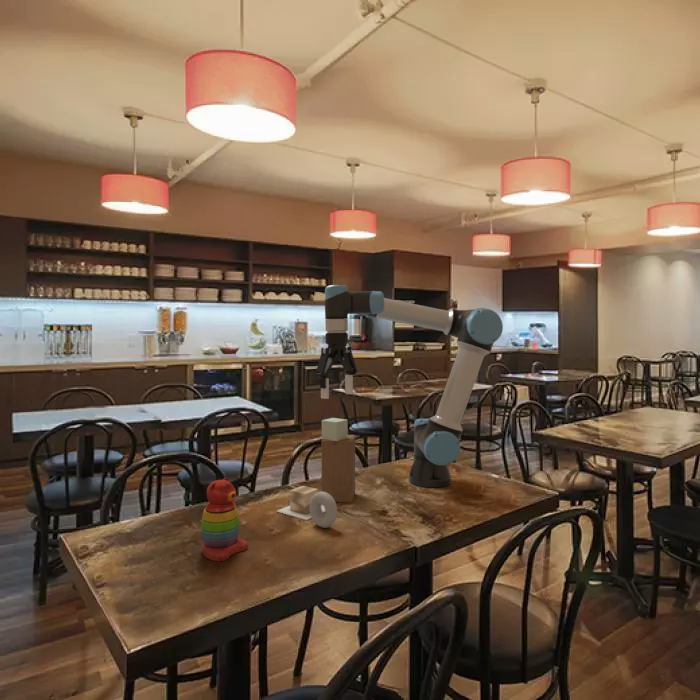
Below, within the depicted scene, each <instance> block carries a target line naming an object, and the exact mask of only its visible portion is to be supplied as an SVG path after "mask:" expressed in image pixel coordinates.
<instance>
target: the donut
mask: <svg viewBox="0 0 700 700" xmlns="http://www.w3.org/2000/svg"><path fill="white" fill-rule="evenodd" d="M321 505H323V506H324V507H325V512H324V513H325V514H324V513H323V512H322V509H321ZM338 512H339V511H338V506H337V502H335V500H334V499H333V497H332V496H331V495H330V494H328V493H327V492H322V490H320V491H318V492H317V493H315V494H314V496H313V497H312V498H311V501H310V514H311V517H312V518H311V519H312V521H313V522H314V523H315V524H316V525H317V526H318V527H319V528H324V529H327V528H330V527H332V526H333V525H334V524H335V523H336V521H337V518H338Z"/></svg>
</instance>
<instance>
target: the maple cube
mask: <svg viewBox="0 0 700 700" xmlns="http://www.w3.org/2000/svg"><path fill="white" fill-rule="evenodd" d="M317 492H319V488H314V487H311V486H310V487H309V486H306V485H300V486H299V487H295V488H293V489H290V490H289V505H290V510H292V511H296V512H300V513H303V514H306V513H308V512H310V501H311V498H312V497H313V496H314V494H315V493H317Z"/></svg>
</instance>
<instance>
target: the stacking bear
mask: <svg viewBox="0 0 700 700" xmlns="http://www.w3.org/2000/svg"><path fill="white" fill-rule="evenodd" d="M236 496H237V490H236V488H235V487H234V485H233V484H232V482H230V481H229V478H228V477H224V478H222V479H218V480H214V481H212V482H211V483H210V484H209V485H208V486H207V489H206V497H207V500H208V503H207V504H206V506H205V508H204V509H203V512H202V518H201V522H200V531H201V535H202V539H203V545H202V547H201V552H202V554H203V556H204V557H205V558H207V559H208V560H212V561H214V562H223V561H226V560H228V559H229V558H230V556H232V555H233V554H235V553H239V552H243V551H246V550H247V549H248V548H249V544H248V542H247V541H246V540H244V539H242V538H239V537H238V536H239V532H240V521H241V520H240V517H239V513H238V509H237V505H236V503H235V502H234V500H235V499H236Z"/></svg>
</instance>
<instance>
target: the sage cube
mask: <svg viewBox="0 0 700 700" xmlns="http://www.w3.org/2000/svg"><path fill="white" fill-rule="evenodd" d="M348 426H349V425H348V419H346V418H345V419H344V418H336V417H330V418H325V419H322V420H321V440H323V439H326V440H332V441H339V440H342V439H346V438H348V435H349V434H348V432H349V431H348V430H349V429H348Z"/></svg>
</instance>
